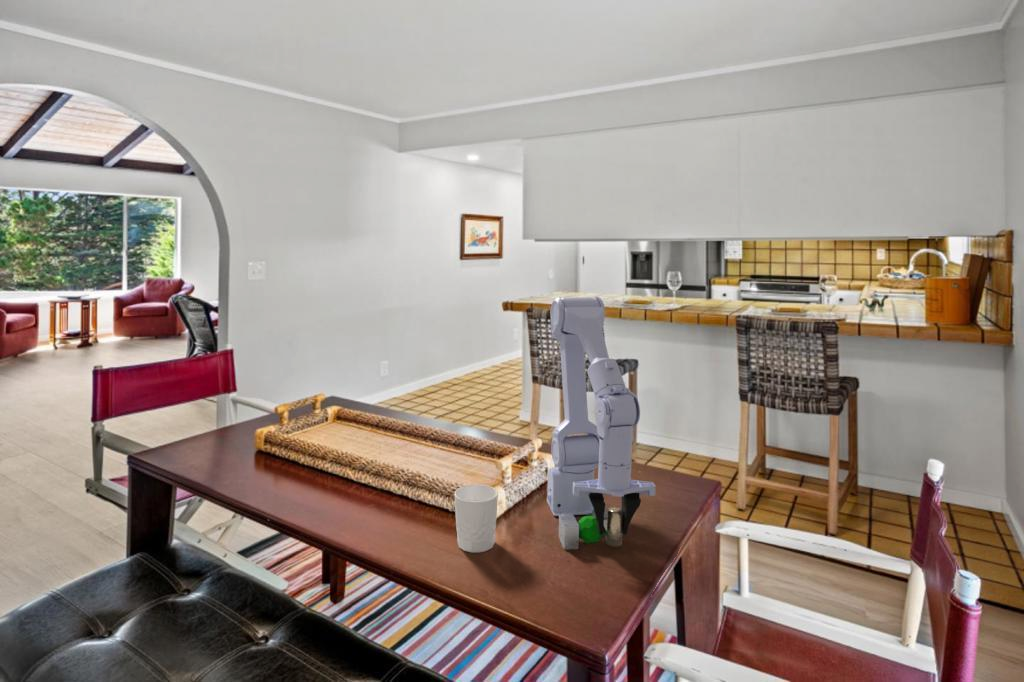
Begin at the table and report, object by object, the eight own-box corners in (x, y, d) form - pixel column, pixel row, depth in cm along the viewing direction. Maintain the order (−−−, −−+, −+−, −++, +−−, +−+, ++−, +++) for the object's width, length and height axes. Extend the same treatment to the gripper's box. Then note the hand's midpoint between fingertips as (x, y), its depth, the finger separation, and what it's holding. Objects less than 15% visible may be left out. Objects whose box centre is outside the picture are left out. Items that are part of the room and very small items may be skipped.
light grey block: (564, 549, 111) (564, 526, 110) (558, 536, 116) (559, 514, 115) (578, 548, 111) (579, 525, 111) (571, 535, 116) (572, 513, 116)
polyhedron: (580, 549, 111) (581, 524, 111) (572, 536, 116) (573, 512, 115) (606, 546, 112) (607, 522, 112) (598, 534, 117) (598, 510, 116)
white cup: (497, 533, 117) (497, 484, 115) (497, 554, 109) (498, 501, 107) (455, 533, 117) (455, 484, 115) (453, 555, 109) (453, 502, 107)
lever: (589, 517, 121) (590, 488, 120) (611, 517, 121) (612, 487, 120) (604, 547, 110) (605, 514, 109) (628, 546, 110) (629, 513, 109)
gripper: (577, 468, 104) (575, 543, 107) (661, 468, 105) (657, 542, 107) (571, 454, 111) (569, 524, 114) (651, 454, 112) (647, 523, 114)
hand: (612, 532), depth 111 cm, fingers open, 3 cm apart
